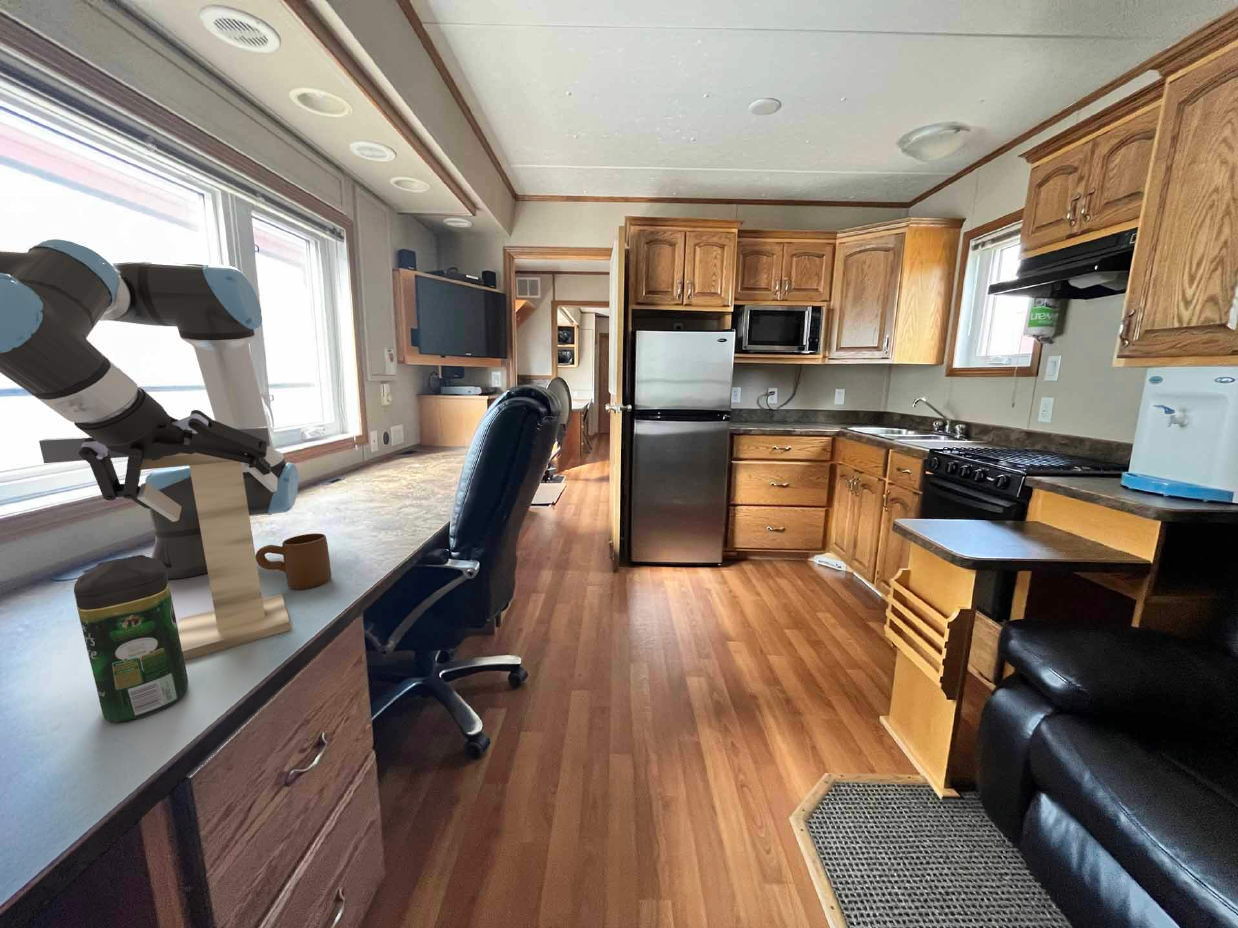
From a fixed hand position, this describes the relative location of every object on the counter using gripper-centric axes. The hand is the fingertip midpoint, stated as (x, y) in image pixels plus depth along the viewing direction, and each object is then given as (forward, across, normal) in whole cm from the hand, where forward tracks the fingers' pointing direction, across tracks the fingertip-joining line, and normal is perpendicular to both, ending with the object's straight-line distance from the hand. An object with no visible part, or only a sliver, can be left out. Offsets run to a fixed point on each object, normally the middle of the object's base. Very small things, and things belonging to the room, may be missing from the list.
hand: (227, 500), depth 74 cm
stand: (+16, -8, -13) cm, 22 cm away
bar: (-8, -4, +5) cm, 10 cm away
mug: (+28, -5, 0) cm, 28 cm away
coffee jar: (+4, -9, -27) cm, 28 cm away
